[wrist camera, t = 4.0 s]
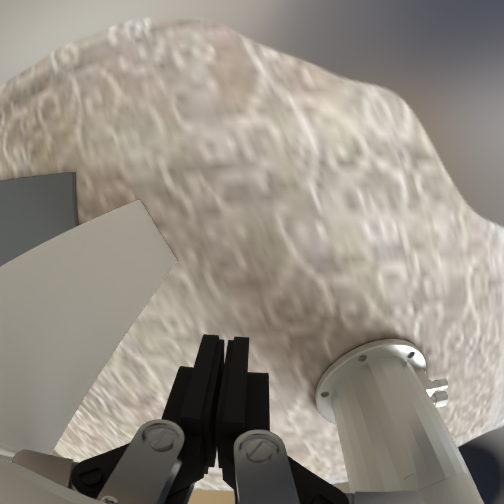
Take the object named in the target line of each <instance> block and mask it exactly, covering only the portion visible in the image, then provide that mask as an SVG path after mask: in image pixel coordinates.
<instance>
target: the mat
mask: <svg viewBox="0 0 504 504" xmlns="http://www.w3.org/2000/svg"><path fill="white" fill-rule="evenodd" d="M77 226H78V216H77V202H76V181H75V172H71V173H60V174H50V175H41V176H33V177H25V178H18V179H11V180H5V181H0V266H2V265H4V264H6V263H7V262H9V261H11V260H13V259H15V258H16V257H18V256H20V255H22V254H24V253H25V252H27V251H29V250H31V249H33V248H35V247H37V246H39V245H40V244H42V243H44V242H46V241H48V240H50V239H52V238H54V237H56V236H58V235H60V234H62V233H64V232H66V231H68V230H71V229H73V228H75V227H77Z"/></svg>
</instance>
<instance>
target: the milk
mask: <svg viewBox="0 0 504 504" xmlns="http://www.w3.org/2000/svg"><path fill="white" fill-rule="evenodd" d="M176 263H177V259H176V257H175V256H174V254H173V253H172V251H171V249H170V248H169V246H168V245H167V243H166V241H165V240H164V238H163V237H162V235H161V233H160V232H159V230H158V229H157V227H156V225H155V224H154V222H153V221H152V219H151V217H150V216H149V214H148V212H147V211H146V209H145V207H144V206H143V204H142V202H141V201H140V200H139V199H138V200H136V201H133V202H131V203H129V204H126V205H124V206H121V207H119V208H117V209H114V210H112V211H110V212H108V213H105V214H103V215H101V216H99V217H96V218H94V219H92V220H90V221H88V222H85V223H83V224H81V225H79V226H77V227H75V228H73V229H71V230H68V231H66V232H64V233H62V234H60V235H58V236H56V237H54V238H52V239H50V240H48V241H46V242H44V243H42V244H40V245H39V246H37V247H35V248H33V249H31V250H29V251H27V252H25V253H24V254H22V255H20V256H18V257H16V258H15V259H13V260H11V261H9V262H7V263H6V264H4V265H2V266H0V454H1V455H6V456H11V457H14V456H15V454H16V453H17V452H19V451H21V450H32V451H36V452H40V453H44V454H48V455H51V453H52V452H53V450H54V448H55V446H56V445H57V443H58V441H59V439H60V438H61V436H62V434H63V432H64V431H65V429H66V427H67V426H68V424H69V422H70V421H71V419H72V417H73V415H74V414H75V412H76V411H77V409H78V407H79V406H80V404H81V402H82V401H83V399H84V397H85V396H86V394H87V393H88V391H89V389H90V388H91V386H92V385H93V383H94V381H95V380H96V378H97V377H98V375H99V374H100V372H101V371H102V369H103V367H104V366H105V364H106V363H107V361H108V360H109V358H110V357H111V355H112V354H113V352H114V351H115V349H116V348H117V346H118V345H119V343H120V342H121V340H122V339H123V337H124V336H125V334H126V333H127V331H128V330H129V329H130V327H131V326H132V324H133V323H134V321H135V320H136V318H137V317H138V316H139V314H140V313H141V311H142V310H143V308H144V307H145V306H146V304H147V303H148V301H149V300H150V299H151V297H152V296H153V294H154V293H155V292H156V290H157V289H158V287H159V286H160V285H161V283H162V282H163V281H164V279H165V278H166V276H167V275H168V274H169V272H170V271H171V270H172V268H173V267H174V266H175V264H176Z"/></svg>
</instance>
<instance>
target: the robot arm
mask: <svg viewBox="0 0 504 504" xmlns="http://www.w3.org/2000/svg"><path fill="white" fill-rule="evenodd" d="M248 353H249V337H234V340H228V346H227V352H226V358H225V364H224V340H221V339H219V336H218V335H207V334H204V335H203V338H202V341H201V344H200V348H199V351H198V354H197V358H196V361H195V365H194V368H193V367H184V366H180V367H179V370H178V372H177V375H176V378H175V381H174V384H173V387H172V390H171V392H170V395H169V398H168V401H167V404H166V407H165V410H164V413H163V416H162V419H158V420H152V421H149V422H147V423H145V424H143V425H142V426H141V427H140V428H139V430H138V431H137V433H136V434H135V436H134V438H133V439H132V441H131V443H129V444H126V445H124V446H121V447H119V448H116V449H114V450H111V451H108V452H106V453H103V454H100V455H98V456H95V457H92V458H89V459H86V460H84V461H82V462H80V463H78V462H74V461H73V459H68V458H62V457H57V456H53V455H48V454H44V453H40V452H36V451H32V450H21V451H19V452H17V453H16V454H15V456H14V457H13V459H12V462H10V461H7V460H4V459H1V458H0V504H188V502H189V499H190V496H191V494H192V491H193V489H194V485H195V482H197V481H199V480H200V479H202V478H204V474H208V468H209V467H214V466H215V459H216V452H217V451H218V464H219V468H222V472H223V480H224V481H225V482H226V483H227V484H228V485H229V486H230V487H231V488H232V489H233V492H234V500H235V504H484V503H483V501H482V499H481V497H480V495H479V493H478V490H477V488H476V486H475V483H474V481H473V479H472V477H471V475H470V473H469V471H468V468H467V466H466V464H465V462H464V460H463V458H462V456H461V454H460V452H459V450H458V448H457V446H456V444H455V442H454V440H453V438H452V436H451V434H450V432H449V430H448V428H447V426H446V424H445V423H444V421H443V419H442V417H441V415H440V413H439V412H438V410H437V408H438V407H442V406H445V405H446V404H447V401H448V395H447V393H446V392H445V391H443V390H446V389H447V386H448V382H447V380H446V379H440V380H435V381H431V380H429V379H428V377H427V376H426V369H427V367H426V360H425V358H424V356H423V354H422V353H421V352H420V350H419V349H418V348H417V347H416V346H415V345H414V344H412V343H410V342H408V341H405V340H400V339H383V340H378V341H373V342H370V343H367V344H364V345H362V346H359V347H357V348H355V349H353V350H351V351H349V352H348V353H346V354H345V355H343V356H342V357H340V358H339V359H338V360H337V361H336V362H334V363H333V364H332V365H331V366H330V367H329V368H328V369H327V371H326V372H325V373H324V374H323V376H322V377H321V379H320V381H319V382H318V385H317V388H316V394H315V399H316V405H317V409H318V411H319V413H320V414H321V416H322V417H323V418H324V419H326V420H327V421H329V422H331V423H333V424H336V425H337V430H338V434H339V439H340V443H341V448H342V452H343V457H344V462H345V467H346V471H347V476H348V481H349V486H350V491H351V493H343V492H342V491H341V490H339V489H338V488H336V487H334V486H333V485H331V484H329V483H328V482H326V481H325V480H323V479H321V478H320V477H318V476H317V475H315V474H314V473H312V472H311V471H309V470H308V469H306V468H305V467H303V466H302V465H300V464H299V463H297V462H296V461H294V460H293V459H292V458H290V457H289V456H287V452H286V448H285V445H284V443H283V441H282V439H281V438H280V437H279V436H278V435H276V434H274V433H272V432H270V415H269V374H268V373H254V372H247V371H248ZM438 391H440V392H438ZM433 392H435V393H433Z"/></svg>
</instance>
